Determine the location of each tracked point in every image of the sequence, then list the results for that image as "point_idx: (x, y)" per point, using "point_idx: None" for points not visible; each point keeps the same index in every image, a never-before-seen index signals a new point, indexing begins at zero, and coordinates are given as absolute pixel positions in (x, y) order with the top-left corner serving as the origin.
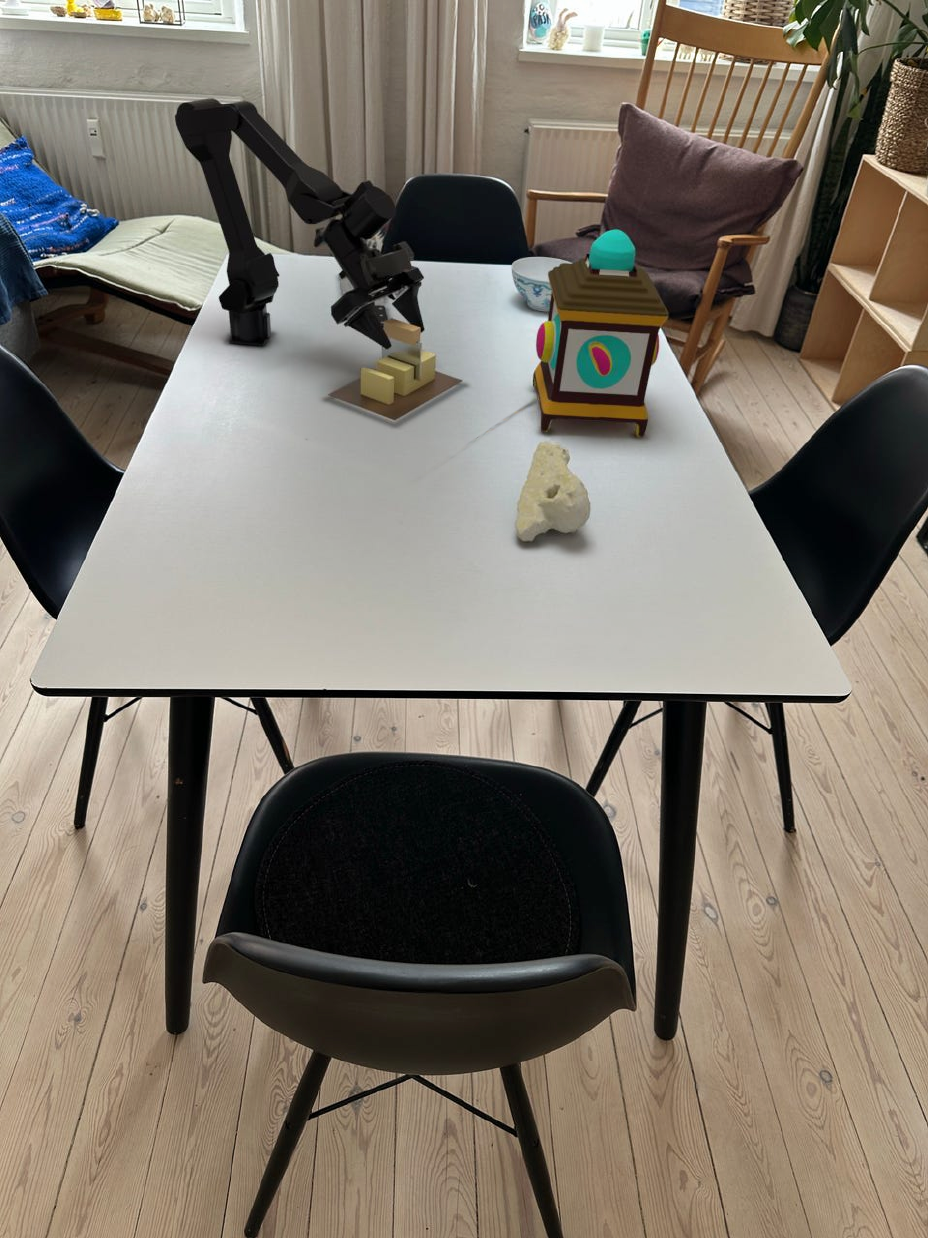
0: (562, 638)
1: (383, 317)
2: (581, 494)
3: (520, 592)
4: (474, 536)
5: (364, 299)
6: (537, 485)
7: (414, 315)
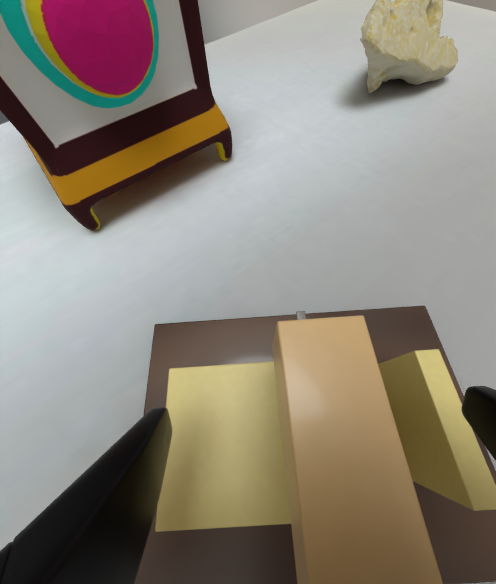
0: (491, 31)
1: None
2: None
3: (489, 57)
4: (481, 102)
5: None
6: (424, 34)
7: (111, 530)
